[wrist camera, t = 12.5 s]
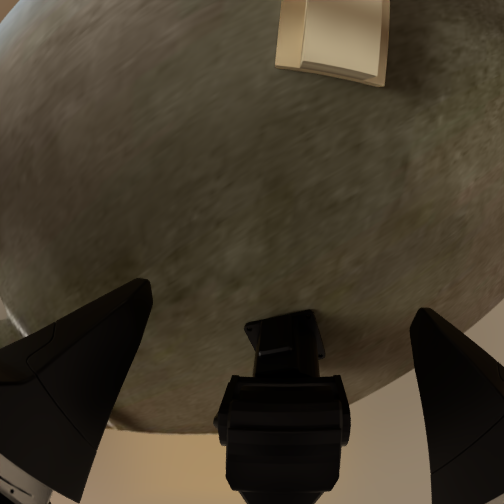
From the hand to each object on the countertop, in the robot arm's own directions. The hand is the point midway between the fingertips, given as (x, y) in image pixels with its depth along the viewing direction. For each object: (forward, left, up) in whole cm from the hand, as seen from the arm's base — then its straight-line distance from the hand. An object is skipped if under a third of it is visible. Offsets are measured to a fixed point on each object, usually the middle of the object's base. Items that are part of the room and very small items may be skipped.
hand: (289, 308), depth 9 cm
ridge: (+16, -10, -13) cm, 23 cm away
